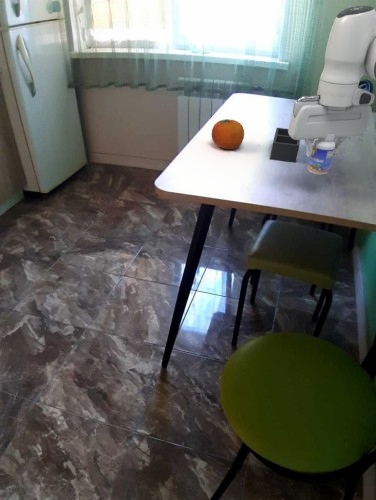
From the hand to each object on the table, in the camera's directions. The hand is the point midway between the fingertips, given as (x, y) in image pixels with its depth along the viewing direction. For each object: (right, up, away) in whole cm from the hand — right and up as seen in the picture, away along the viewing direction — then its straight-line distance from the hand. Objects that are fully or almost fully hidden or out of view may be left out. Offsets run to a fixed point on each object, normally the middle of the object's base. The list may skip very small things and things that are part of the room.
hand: (321, 155), depth 106 cm
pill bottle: (0, -3, +3) cm, 4 cm away
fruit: (-22, +16, +30) cm, 41 cm away
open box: (-3, +13, +29) cm, 32 cm away
